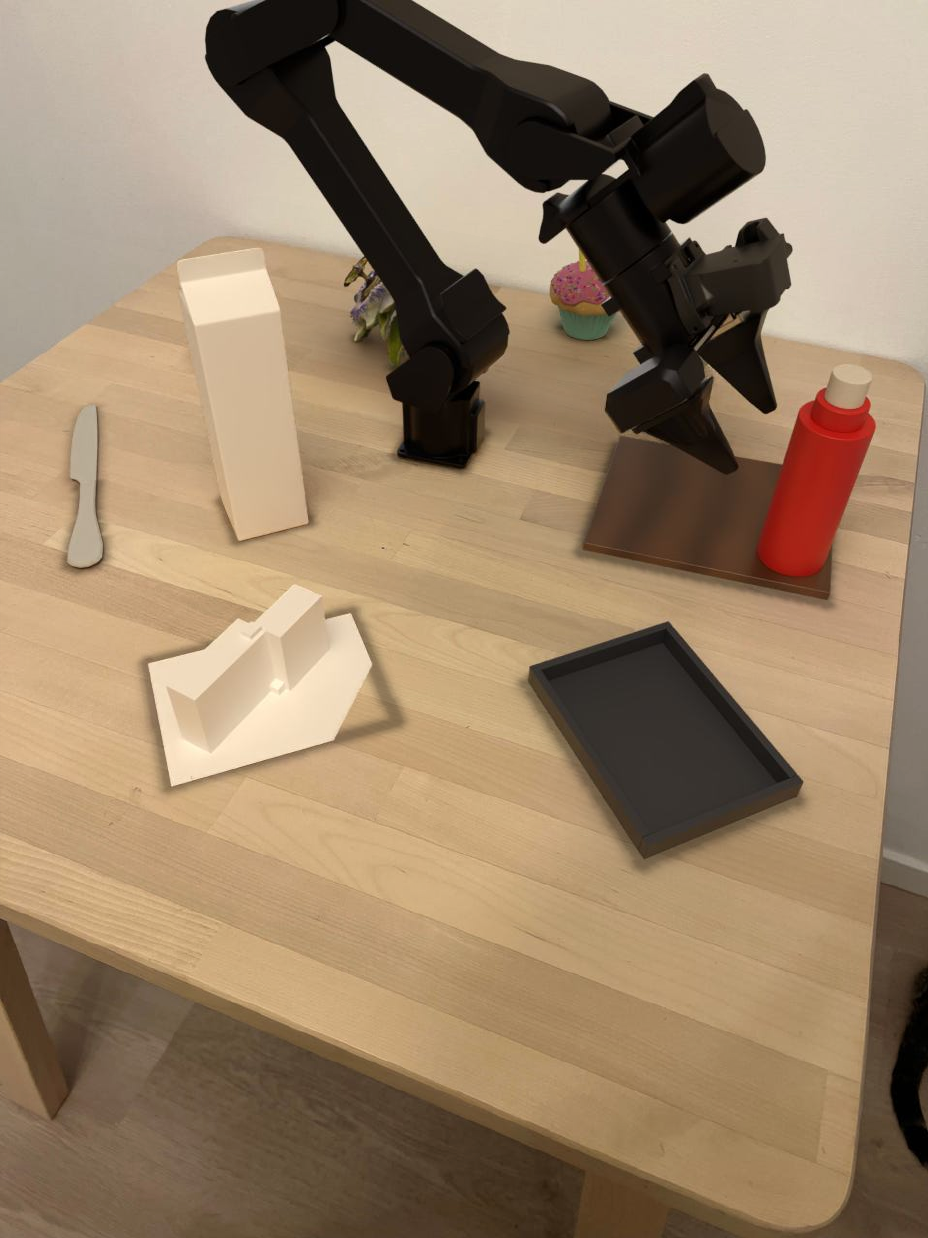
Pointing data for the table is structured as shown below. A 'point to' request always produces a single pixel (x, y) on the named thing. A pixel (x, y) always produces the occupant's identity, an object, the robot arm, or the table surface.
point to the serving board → (691, 516)
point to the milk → (244, 389)
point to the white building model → (259, 688)
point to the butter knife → (85, 491)
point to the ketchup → (818, 474)
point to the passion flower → (375, 310)
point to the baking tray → (661, 737)
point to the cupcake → (580, 300)
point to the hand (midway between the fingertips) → (752, 440)
